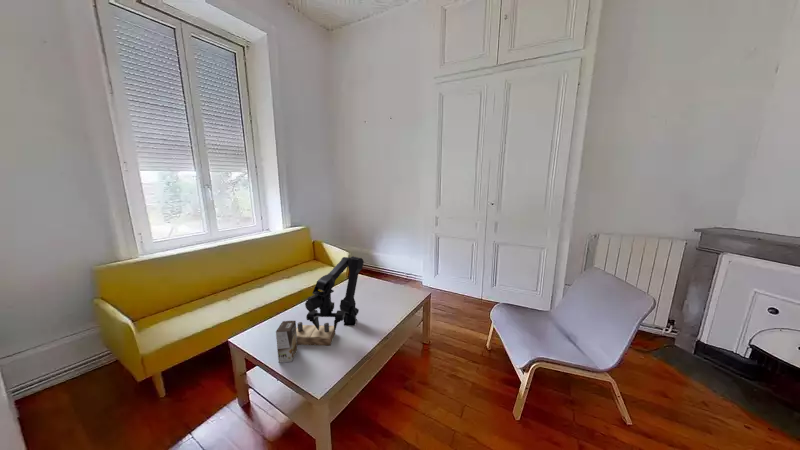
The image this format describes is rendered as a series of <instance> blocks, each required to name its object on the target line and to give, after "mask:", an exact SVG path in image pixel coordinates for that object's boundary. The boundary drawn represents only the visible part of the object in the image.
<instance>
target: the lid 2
mask: <svg viewBox="0 0 800 450" xmlns="http://www.w3.org/2000/svg"><path fill="white" fill-rule="evenodd" d="M333 330H334V325H330V324H329V322H324V323H323V325H320V324H319V330H318V329H317V328H315V330H314V331H313V333H312V335H311V338H323V339H330V337H331V335H332V333H333Z"/></svg>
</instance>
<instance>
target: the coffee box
mask: <svg viewBox="0 0 800 450" xmlns="http://www.w3.org/2000/svg"><path fill="white" fill-rule="evenodd" d="M296 321H297V320H283V321H282V322H281V323H280V324H279V326H278V328H277V329H276V331H275V337H276V349H277V360H278V363H292V362H293V360H294V358H295V356H296V354H297V351H298V350H299V349H298V345H297V333H296V328H297V324H296V323H297V322H296Z"/></svg>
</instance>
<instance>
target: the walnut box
mask: <svg viewBox="0 0 800 450" xmlns="http://www.w3.org/2000/svg"><path fill="white" fill-rule="evenodd" d="M335 336H336V330H333V333H332V335H331V337H330V339H323V338H297V346H326V347H328V346H329V347H331V345H332V343H333V341H334V338H335Z"/></svg>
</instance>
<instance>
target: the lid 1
mask: <svg viewBox="0 0 800 450" xmlns="http://www.w3.org/2000/svg"><path fill="white" fill-rule="evenodd" d="M315 328H316V327H315V325H314V324H303V322H302V321H299V322H298V323H297V326H296V333H297V338H311V335H312V333H313V331H314V330H315Z"/></svg>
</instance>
